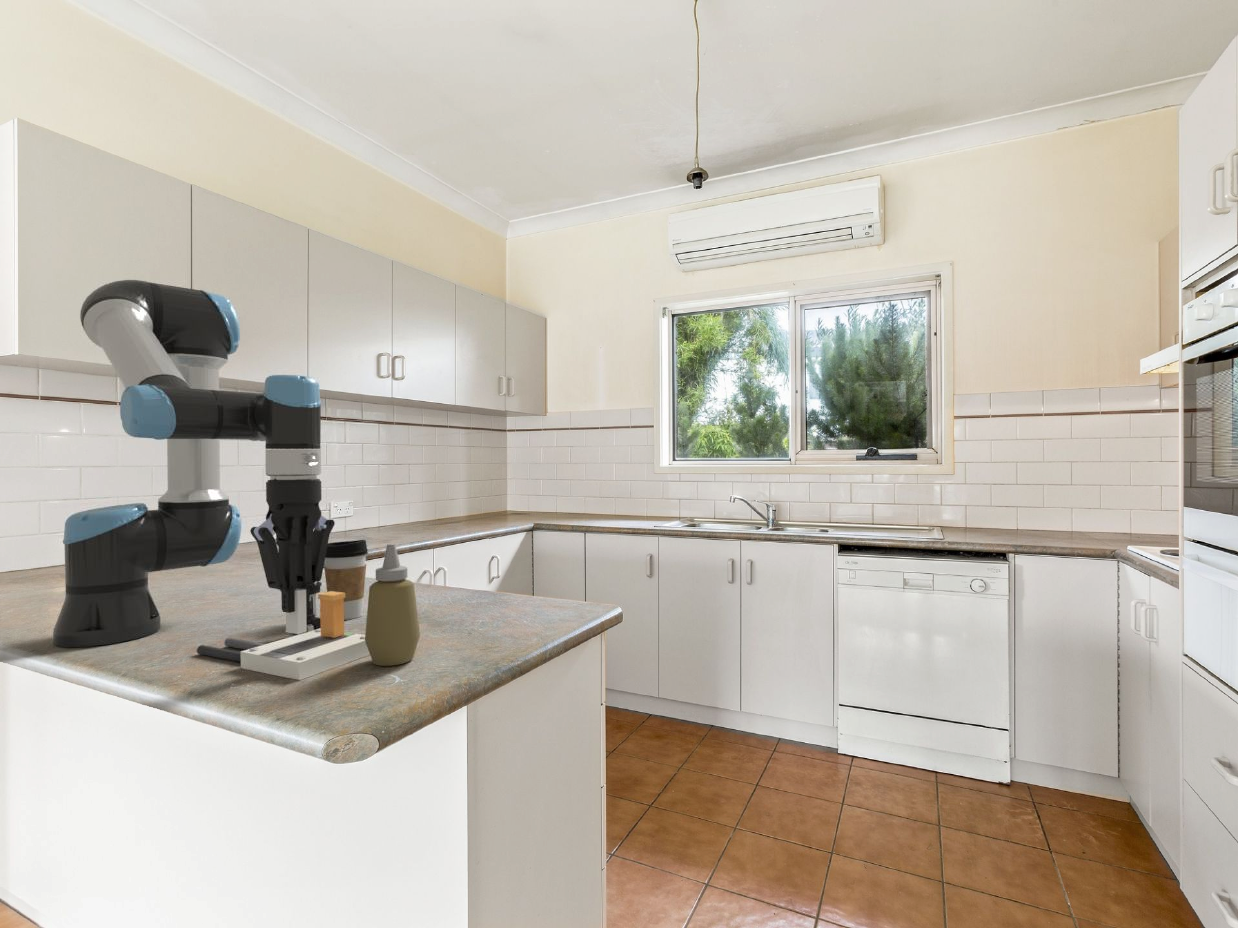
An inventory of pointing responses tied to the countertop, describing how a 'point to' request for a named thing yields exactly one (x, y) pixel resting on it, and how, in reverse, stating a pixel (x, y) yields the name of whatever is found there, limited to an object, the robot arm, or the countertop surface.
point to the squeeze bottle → (392, 614)
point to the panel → (304, 654)
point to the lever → (332, 613)
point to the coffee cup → (347, 574)
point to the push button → (311, 611)
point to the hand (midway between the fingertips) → (296, 631)
